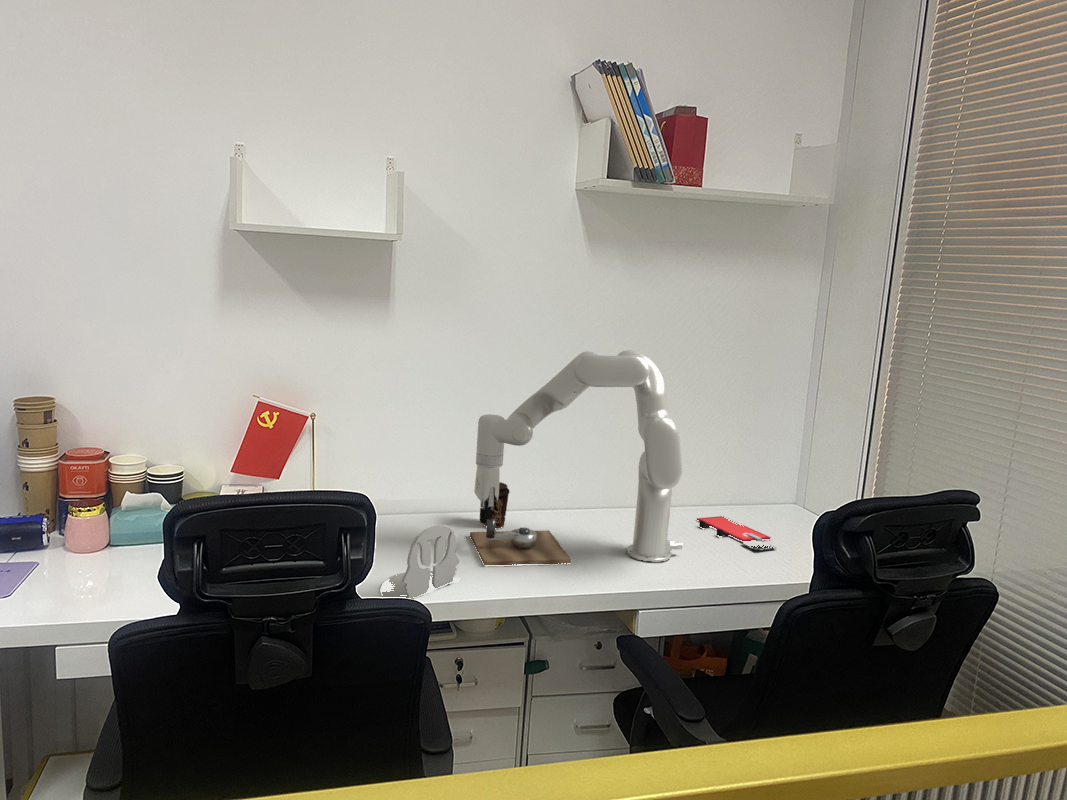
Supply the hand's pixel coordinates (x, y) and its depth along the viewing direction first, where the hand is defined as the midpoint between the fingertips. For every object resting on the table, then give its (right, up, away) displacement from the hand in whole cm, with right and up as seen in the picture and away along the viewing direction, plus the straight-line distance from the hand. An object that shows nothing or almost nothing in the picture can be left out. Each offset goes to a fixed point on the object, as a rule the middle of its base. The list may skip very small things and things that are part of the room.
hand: (485, 522), depth 225 cm
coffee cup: (+1, -4, +19) cm, 20 cm away
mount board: (+9, -8, 0) cm, 12 cm away
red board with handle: (+78, -9, +27) cm, 82 cm away
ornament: (-16, -11, -28) cm, 34 cm away
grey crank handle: (+7, -6, -3) cm, 9 cm away
